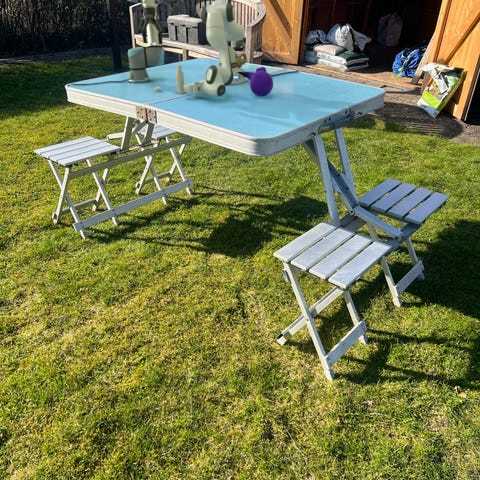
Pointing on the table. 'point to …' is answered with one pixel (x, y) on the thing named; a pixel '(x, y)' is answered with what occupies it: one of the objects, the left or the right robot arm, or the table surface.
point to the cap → (157, 89)
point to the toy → (259, 81)
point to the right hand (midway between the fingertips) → (190, 84)
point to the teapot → (238, 59)
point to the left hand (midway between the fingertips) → (152, 43)
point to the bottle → (180, 80)
